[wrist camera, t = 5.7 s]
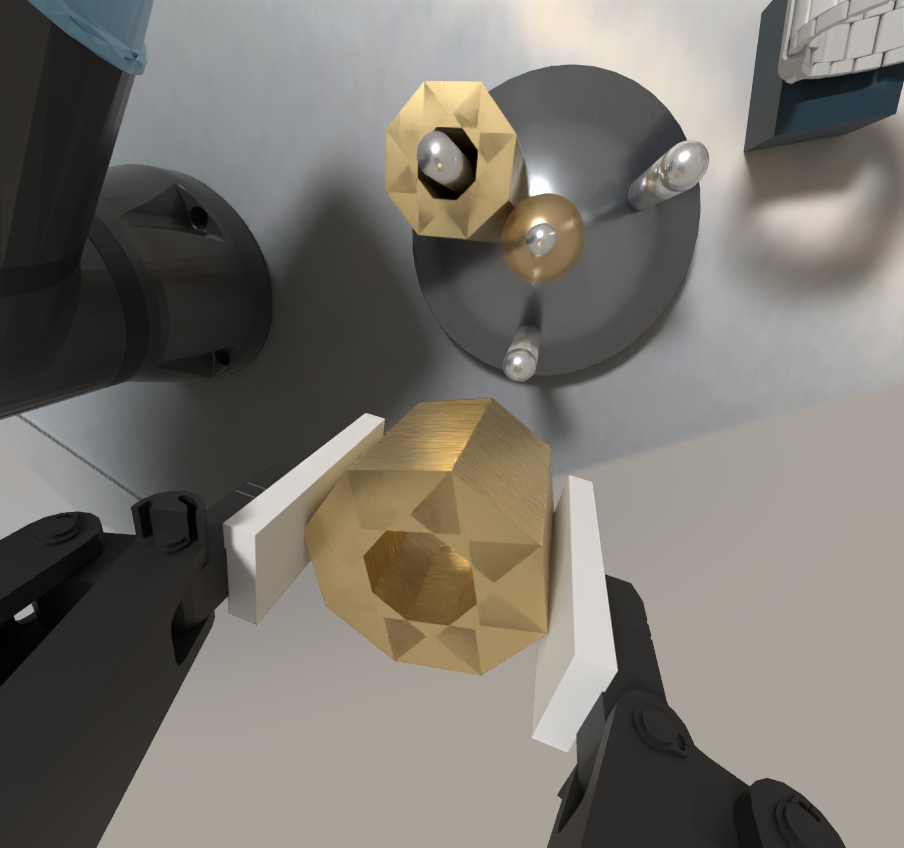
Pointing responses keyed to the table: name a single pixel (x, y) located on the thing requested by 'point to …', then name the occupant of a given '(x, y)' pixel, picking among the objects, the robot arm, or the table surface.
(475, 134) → the planet gear
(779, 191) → the table surface
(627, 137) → the carrier
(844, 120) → the watch
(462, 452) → the planet gear
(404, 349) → the table surface
